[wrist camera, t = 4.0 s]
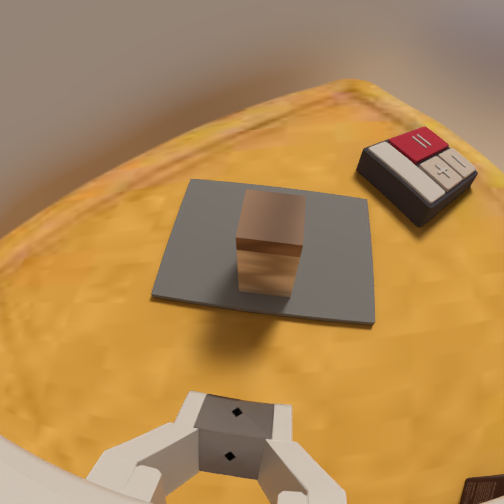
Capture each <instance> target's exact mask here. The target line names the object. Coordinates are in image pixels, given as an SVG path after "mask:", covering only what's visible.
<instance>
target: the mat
mask: <svg viewBox="0 0 504 504" xmlns="http://www.w3.org/2000/svg"><path fill="white" fill-rule="evenodd" d="M246 189H249V190H258V191H267V192H276V193H284V194H293V195H301V196H306V205H305V223H304V239H303V248H302V252H301V256H300V261H299V265H298V269H297V273H296V277H295V281H294V285H293V289H292V293H291V297H290V298H289V297H280V296H272V295H264V294H256V293H249V292H241V291H239V282H238V267H237V251H236V233H237V229H238V224H239V219H240V215H241V210H242V206H243V201H244V196H245V192H246ZM151 294H152V296H153V297H157V298H162V299H168V300H174V301H180V302H187V303H193V304H199V305H206V306H212V307H219V308H226V309H233V310H240V311H247V312H255V313H262V314H270V315H278V316H287V317H295V318H304V319H313V320H323V321H333V322H343V323H354V324H366V325H373V324H374V323H375V299H374V276H373V260H372V246H371V234H370V223H369V213H368V204H367V199H361V198H355V197H348V196H341V195H335V194H328V193H320V192H313V191H305V190H297V189H289V188H281V187H272V186H263V185H254V184H244V183H234V182H223V181H212V180H199V179H191V180H190V182H189V185H188V188H187V190H186V193H185V196H184V198H183V201H182V204H181V207H180V209H179V212H178V215H177V218H176V221H175V223H174V226H173V229H172V232H171V235H170V238H169V241H168V244H167V247H166V250H165V253H164V256H163V259H162V262H161V265H160V268H159V271H158V274H157V277H156V280H155V284H154V287H153V290H152V293H151Z"/></svg>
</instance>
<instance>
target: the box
mask: <svg viewBox="0 0 504 504" xmlns="http://www.w3.org/2000/svg"><path fill="white" fill-rule="evenodd" d="M501 496H504V474H501V475H492V476H483V477H472V478H467V479H466V483H465V488H464V492H463V496H462V500H461V504H480V503H483V502H487V501H490V500H493V499H496V498H499V497H501Z"/></svg>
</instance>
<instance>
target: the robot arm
mask: <svg viewBox="0 0 504 504" xmlns="http://www.w3.org/2000/svg"><path fill="white" fill-rule="evenodd" d="M199 471H204V472H210V473H216V474H223V475H230V476H235V477H241V478H248V479H254V480H258V483H259V485H260V486H261V488H262V490H263V491H264V493H265V495H266V496H267V498H268V500H269V501H270V503H271V504H347V500H346V493H345V491H344V490H343V489H342V488H341V487H340V486H339V485H338V484H337V483H336V482H335V481H334V480H333V479H332V478H331V477H330V476H329V475H328V474H327V473H326V472H325V471H324V470H323V469H322V468H321V467H320V466H319V465H318V464H317V462H316V461H315V460H314V459H313V458H312V457H311V456H310V455H309V454H308V453H307V452H306V451H305V450H304V449H303V448H302V447H301V446H300V444H299V443H298V442H292V406H291V405H287V404H269V403H261V402H253V401H245V400H239V399H234V398H228V397H222V396H217V395H212V394H206V393H201V392H196V391H190V392H189V393H188V394H187V397H186V399H185V401H184V403H183V405H182V407H181V409H180V411H179V413H178V415H177V418H176V420H175V422H174V423H170V422H168V423H166V424H164V425H162V426H160V427H158V428H156V429H154V430H151V431H149V432H147V433H145V434H143V435H140V436H138V437H136V438H134V439H132V440H129V441H127V442H125V443H122V444H120V445H118V446H115V447H113V448H110V449H108V450H106V451H104V452H103V454H102V455H101V457H100V458H99V460H98V461H97V463H96V464H95V466H94V467H93V469H92V470H91V472H90V473H89V475H88V476H87V478H86V479H83V478H81V477H79V476H77V475H74V474H72V473H70V472H68V471H66V470H64V469H61V468H59V467H57V466H55V465H53V464H51V463H49V462H47V461H45V460H43V459H42V458H40V457H38V456H36V455H34V454H32V453H30V452H29V451H27V450H25V449H23V448H22V447H20V446H18V445H17V444H15V443H13V442H12V441H10V440H8V439H7V438H5V437H3V436H2V435H0V504H166V500H165V497H166V496H167V495H169V494H170V493H171V492H173V491H174V490H175V489H177V488H178V487H180V486H181V485H182V484H184V483H185V482H186V481H188V480H189V479H190V478H192V477H193V476H194V475H196V474H197V473H198V472H199ZM480 504H504V496H501V497H499V498H496V499H493V500H490V501H487V502H483V503H480Z"/></svg>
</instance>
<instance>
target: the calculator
mask: <svg viewBox="0 0 504 504" xmlns="http://www.w3.org/2000/svg"><path fill="white" fill-rule="evenodd" d="M448 146H449V145H448V144H447V143H446V142H445V141H444V140H442V139H441V138H440V137H439V136H437V135H436V134H435V133H433V132H432V131H431V130H429V129H428V128H427V127H422V128H419V129H416V130H413V131H410V132H407V133H404V134H402V135H399V136H396V137H393V138H391V139H388V140H385V141H382V142H380V143H377V144H374V145H372V146H369V147H366V148H364V149H363V151H362V154H361V157H360V160H359V163H358V166H357V169H356V170H357V171H358V172H359V173H360V174H361V175H362V176H363V177H364V178H366V179H367V180H368V181H369V182H370V183H371V184H372V185H373V186H375V187H376V188H377V189H378V190H379V191H380V192H381V193H382V194H383V195H385V196H386V197H387V198H388V199H389V200H390V201H391V202H392V203H393V204H394V205H395V206H396V207H397V208H398V209H399V210H401V211H402V212H403V213H404V214H405V215H406V216H407V217H408V218H409V219H410V220H411V221H412V222H413V223H414V224H415V225H416V226H417V227H421V226H423V225H424V224H425V223H427V222H428V221H429V220H430V219H432V218H433V217H434V216H435V215H436V214H437V213H438V212H439V211H440V210H442V209H443V208H444V207H446V206H447V205H448V204H449V203H451V202H452V201H453V200H454V199H456V198H457V197H458V196H459V195H460V194H462V193H463V192H464V191H465V190H466V189H467V188H469V187H470V186H471V184H472V182H473V181H474V179H475V177H476V176H477V174H478V173H477V171H476V168H475V167H474V166H473V165H472V164H471V163H470V162H469V161H468V160H466V159H465V158H464V157H463V156H462V155H461V154H459V153H458V152H457V151H456V150H455V149H453V148H449V147H448Z"/></svg>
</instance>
